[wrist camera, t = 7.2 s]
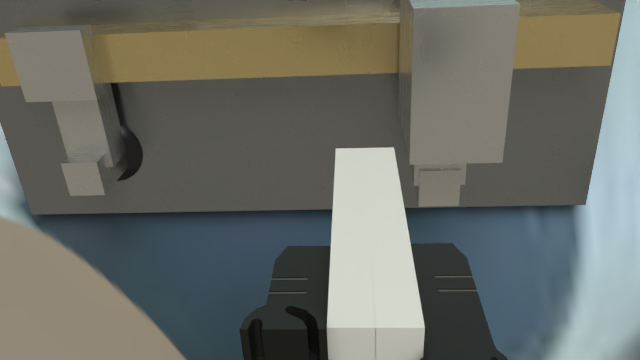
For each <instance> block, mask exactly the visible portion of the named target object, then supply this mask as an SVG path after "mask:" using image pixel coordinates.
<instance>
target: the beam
mask: <svg viewBox="0 0 640 360" xmlns="http://www.w3.org/2000/svg"><path fill="white" fill-rule="evenodd" d="M620 15H621V13H619V12H617V11H615V10H612V9H610V8H608V7H606V6H603V5H601V4H583V5H560V6H536V7H520V11H519V19H518V28H517V37H516V46H515V55H514V64H513V69H524V68H553V67H582V66H611V61H612V56H613V51H614V46H615V41H616V36H617V31H618V25H619V20H620ZM399 30H400V12H392V13H368V14H344V15H320V16H297V17H273V18H249V19H225V20H201V21H177V22H153V23H129V24H105V25H71V26H47V27H23V28H12V29H10V30H7V31H5V32H2V33H0V83H1V86H21V88H22V91H23V94H24V98H25V101H26V102H50V101H52V104H53V108H54V111H55V115H56V118H57V122H58V125H59V129H60V132H61V136H62V139H63V143H64V146H65V150H66V153H67V156H68V157H67V158H66V159H65V160H64V161H63V162H62V163H61V166H62V170H63V173H64V177H65V180H66V183H67V187H68V190H69V193H70V196H86V195H106V193H107V192H108V191H109V190H110V188H111V187H112V186H113V185H114V184H115V182H116V181H117V180H118V179H119V177H120V176H121V175H122V174H123V172H124V171H125V170H126V169H127V168H128V162H127V158H126V154H125V153H126V148H125V144H124V140H123V135H122V131H121V127H120V122H119V118H118V114H117V110H116V105H115V101H114V97H113V92H112V88H111V84H110V83H117V82H146V81H175V80H204V79H233V78H262V77H291V76H320V75H349V74H378V73H399Z"/></svg>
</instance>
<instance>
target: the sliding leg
mask: <svg viewBox="0 0 640 360" xmlns="http://www.w3.org/2000/svg"><path fill="white" fill-rule="evenodd" d="M519 11H520V4H519V3H518V2H516V1H515V0H400V30H399V96H398V113H399V117H400V122H401V127H402V131H403V136H404V141H405V146H406V150H407V155H408V160H409V165H410V170H411V175H412V180H413V184H414V188H415V193H416V197H417V202H418V207H427V206H459V197H460V185H465V179H466V166H467V163H502V162H503V153H504V144H505V135H506V127H507V118H508V109H509V100H510V91H511V82H512V73H513V64H514V55H515V46H516V37H517V28H518V19H519Z"/></svg>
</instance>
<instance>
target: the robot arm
mask: <svg viewBox="0 0 640 360" xmlns="http://www.w3.org/2000/svg"><path fill="white" fill-rule="evenodd" d="M240 335H241V342H242V349H243V356H244V360H508V359H507V358H506V357H505V356H504V355H503V354H502V353H500V352H499V351H498V350H497V349H496V347H495V345H494V343H493V340H492V337H491V333H490V330H489V327H488V324H487V321H486V318H485V314H484V311H483V308H482V305H481V302H480V299H479V295H478V292H476V286H475V283H474V280H473V278H472V273H471V270H470V267H469V264H468V261H467V258H466V257H465V256H464V255H463V254H462V253H461V252H460V251H459V250H458V249H457V248H456V247H455V246H454V245H453V244H452V243H436V244H410V238H409V232H408V226H407V220H406V214H405V209H404V203H403V197H402V191H401V185H400V180H399V174H398V168H397V162H396V156H395V150H394V147H388V148H336V153H335V173H334V193H333V213H332V233H331V246H287V247H286V249H285V250H284V251H283V252H282V253H281V254H280V256H279V257H278V258H277V259H276V260H275V264H274V269H273V274H272V281H271V284H270V289H269V295H268V300H267V305H264V306H262V307H259V308H257V309H256V310H254V311H253V312H252V313H251V314H250V315H249V316H247V317H246V318H245V320H244V322H243V324H242V326H241V328H240Z"/></svg>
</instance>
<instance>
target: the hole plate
mask: <svg viewBox="0 0 640 360" xmlns="http://www.w3.org/2000/svg"><path fill="white" fill-rule="evenodd" d="M515 1H516V2H518V3H519V4H520V7H536V6H560V5H583V4H601V5H603V6H606V7H608V8H610V9H612V10H615V11H617V12H619V13H621V15H620V20H619V25H618V31H617V36H616V41H615V46H614V51H613V56H612V61H611V66H582V67H553V68H524V69H513V73H512V82H511V91H510V100H509V109H508V118H507V127H506V135H505V144H504V153H503V162H502V163H467V166H466V179H465V185H460V197H459V206H427V207H418V202H417V197H416V193H415V188H414V184H413V180H412V175H411V170H410V165H409V160H408V155H407V150H406V146H405V141H404V136H403V131H402V127H401V122H400V117H399V113H398V96H399V73H378V74H349V75H320V76H291V77H262V78H233V79H204V80H175V81H146V82H117V83H110V84H111V88H112V92H113V97H114V101H115V105H116V110H117V114H118V118H119V122H120V127H121V131H122V135H123V140H124V144H125V148H126V153H125V154H126V158H127V162H128V168H127V169H126V170H125V171H124V172H123V174H122V175H121V176H120V177H119V179H118V180H117V181H116V182H115V184H114V185H113V186H112V187H111V188H110V190H109V191H108V192H107V193H106V195H86V196H70V193H69V190H68V187H67V183H66V180H65V177H64V173H63V170H62V166H61V163H62V162H63V161H64V160H65V159H66V158H67V157H68V156H67V153H66V150H65V146H64V143H63V139H62V136H61V132H60V129H59V125H58V122H57V118H56V115H55V111H54V108H53V104H52V101H50V102H26V101H25V98H24V94H23V91H22V88H21V86H1V83H0V123H1V126H2V128H3V131H4V134H5V137H6V140H7V143H8V146H9V149H10V152H11V155H12V158H13V161H14V164H15V167H16V170H17V173H18V176H19V179H20V182H21V185H22V188H23V191H24V194H25V197H26V199H27V202H28V205H29V208H30V211H31V214H32V215H38V214H95V213H151V212H208V211H264V210H320V209H333V193H334V173H335V153H336V148H388V147H394V150H395V156H396V162H397V168H398V174H399V180H400V185H401V191H402V197H403V203H404V208H433V207H490V206H546V205H586V200H587V194H588V189H589V184H590V179H591V174H592V169H593V164H594V159H595V154H596V149H597V143H598V138H599V133H600V128H601V123H602V118H603V113H604V108H605V103H606V98H607V92H608V87H609V82H610V77H611V72H612V67H613V62H614V57H615V52H616V47H617V42H618V36H619V31H620V26H621V21H622V16H623V11H624V6H625V1H626V0H515ZM392 12H400V0H0V33H2V32H5V31H7V30H10V29H12V28H23V27H47V26H71V25H105V24H129V23H153V22H177V21H201V20H225V19H249V18H273V17H297V16H320V15H344V14H368V13H392Z"/></svg>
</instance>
